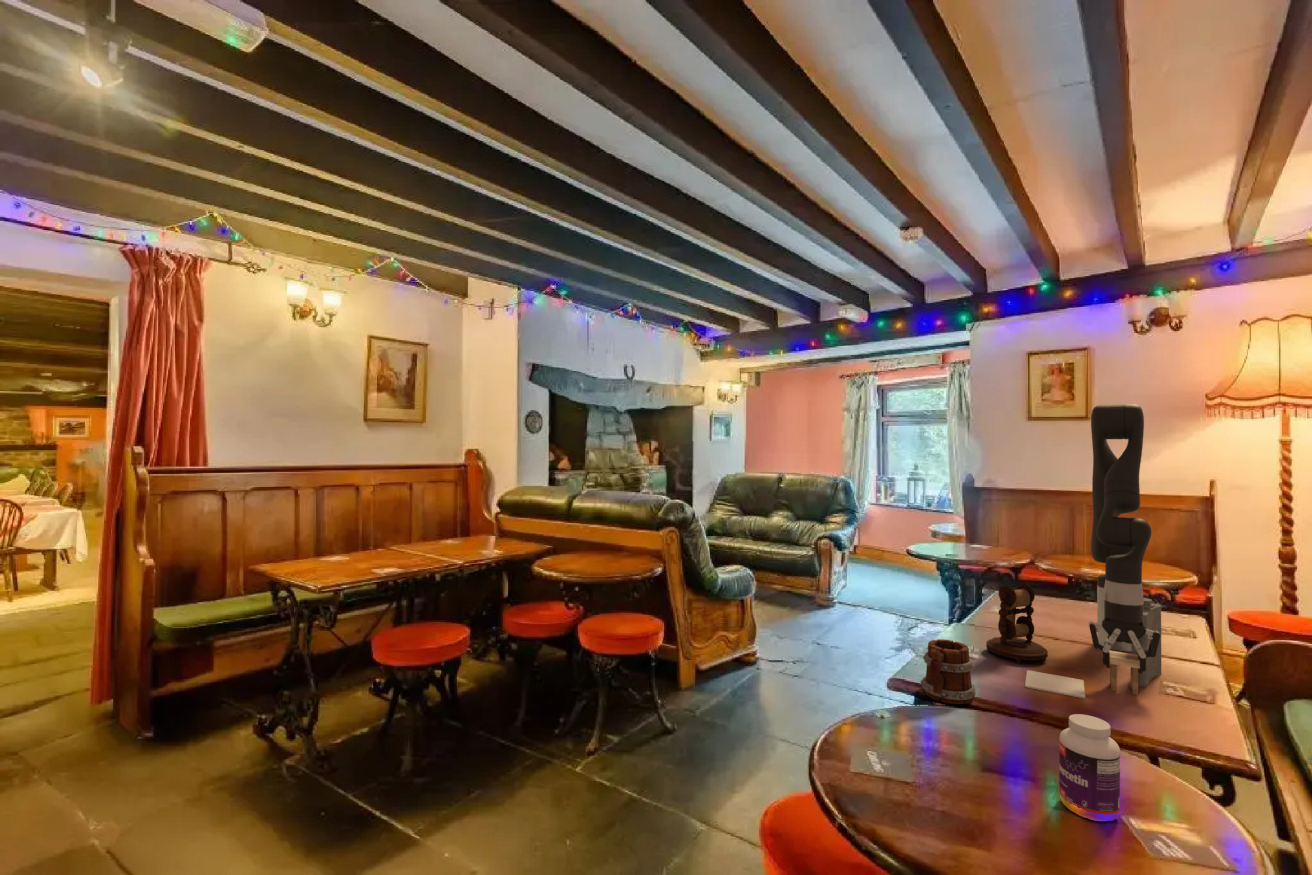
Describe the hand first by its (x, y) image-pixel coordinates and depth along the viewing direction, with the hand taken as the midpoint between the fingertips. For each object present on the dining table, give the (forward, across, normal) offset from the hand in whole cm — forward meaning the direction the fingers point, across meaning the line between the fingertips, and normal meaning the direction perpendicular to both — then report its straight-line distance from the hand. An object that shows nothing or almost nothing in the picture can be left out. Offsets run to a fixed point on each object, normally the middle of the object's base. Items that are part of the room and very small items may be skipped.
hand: (1123, 669), depth 147 cm
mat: (+5, +14, +6) cm, 16 cm away
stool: (+5, 0, 0) cm, 5 cm away
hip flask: (+5, -5, -12) cm, 14 cm away
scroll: (+5, +23, -12) cm, 26 cm away
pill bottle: (+5, +9, +64) cm, 65 cm away
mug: (+5, +35, +29) cm, 46 cm away
